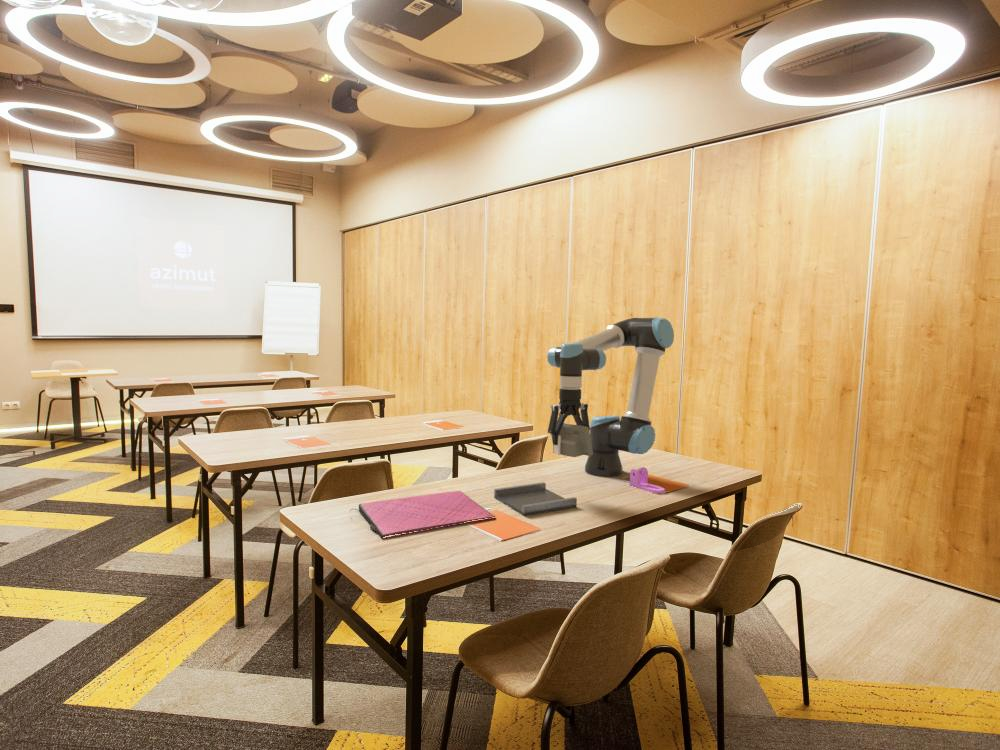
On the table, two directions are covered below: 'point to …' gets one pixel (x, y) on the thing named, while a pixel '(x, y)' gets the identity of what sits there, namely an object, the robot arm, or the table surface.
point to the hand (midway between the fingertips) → (568, 452)
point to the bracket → (643, 481)
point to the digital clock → (574, 440)
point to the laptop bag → (421, 512)
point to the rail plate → (533, 499)
